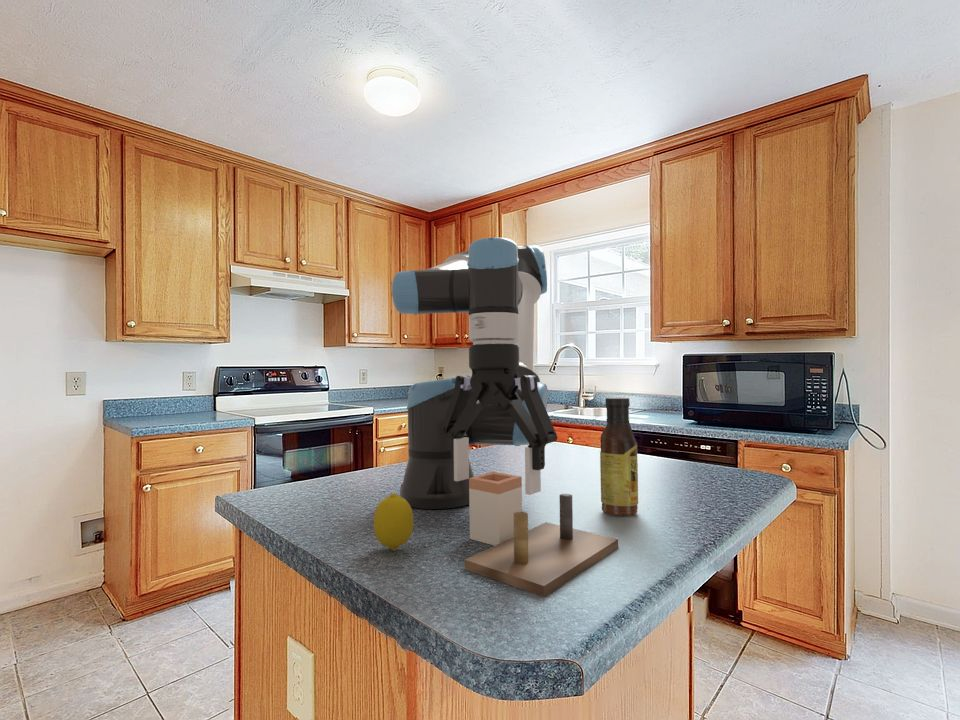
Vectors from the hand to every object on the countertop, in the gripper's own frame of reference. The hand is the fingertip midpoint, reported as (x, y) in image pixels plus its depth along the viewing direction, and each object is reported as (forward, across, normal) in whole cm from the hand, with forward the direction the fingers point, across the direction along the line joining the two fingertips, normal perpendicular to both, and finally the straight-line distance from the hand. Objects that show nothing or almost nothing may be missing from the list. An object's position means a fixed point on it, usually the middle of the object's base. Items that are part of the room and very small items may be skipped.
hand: (495, 486), depth 75 cm
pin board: (+8, +10, -2) cm, 13 cm away
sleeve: (+8, 0, 0) cm, 8 cm away
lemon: (+8, -8, -12) cm, 17 cm away
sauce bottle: (+8, +9, +24) cm, 26 cm away
